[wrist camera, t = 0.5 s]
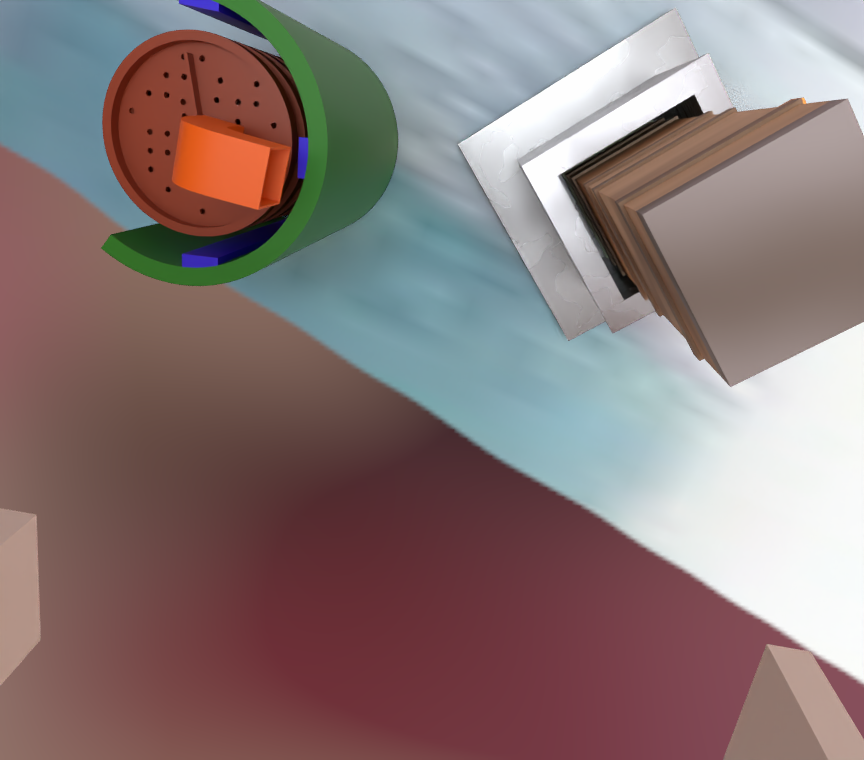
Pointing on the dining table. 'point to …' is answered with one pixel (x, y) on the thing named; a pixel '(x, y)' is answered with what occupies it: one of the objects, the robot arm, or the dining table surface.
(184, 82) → the motor
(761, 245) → the column
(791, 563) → the dining table surface
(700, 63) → the stand base
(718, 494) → the dining table surface
